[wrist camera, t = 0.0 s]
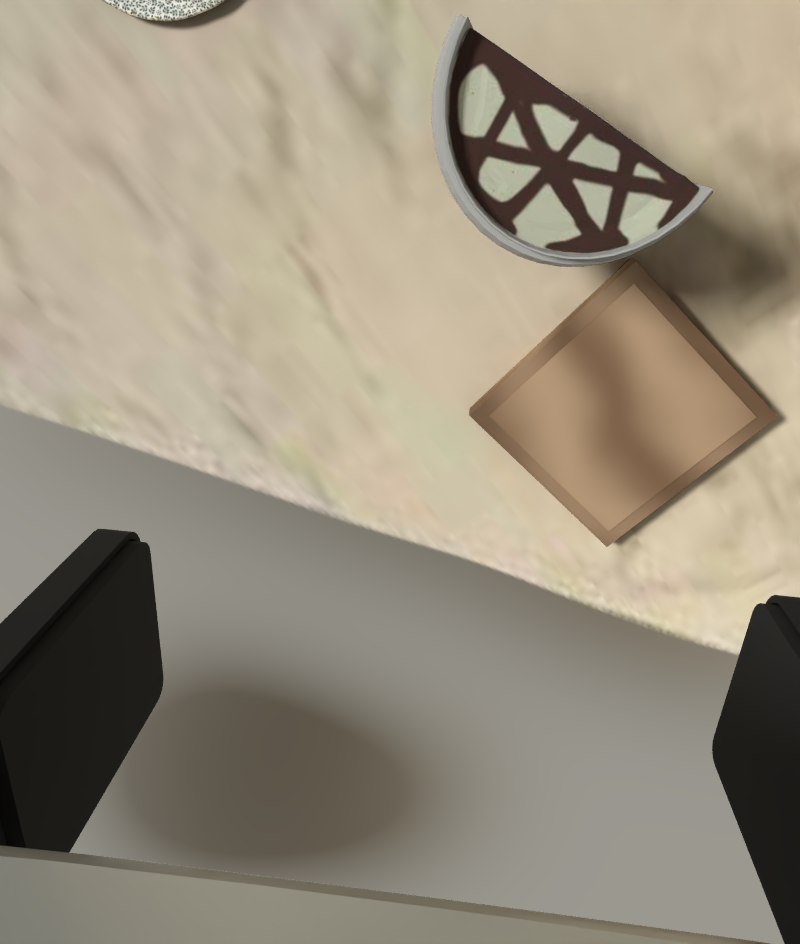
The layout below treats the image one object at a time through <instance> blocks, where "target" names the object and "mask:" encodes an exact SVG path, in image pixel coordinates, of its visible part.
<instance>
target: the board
mask: <svg viewBox="0 0 800 944" xmlns="http://www.w3.org/2000/svg"><path fill="white" fill-rule="evenodd" d="M469 415H470V416H471V417H472V418H473V419H474V420H475V421H476V422H477V423H478V424H479V425H480V426H481V427H482V428H483V429H484V430H485V431H486V432H487V433H488V434H489V435H490V436H492V437H493V438H494V439H495V440H496V441H497V442H498V443H499V444H500V445H501V446H502V447H503V448H504V449H505V450H506V451H507V452H508V453H509V454H510V455H511V456H512V457H513V458H515V459H516V460H517V461H518V462H519V463H520V464H521V465H522V466H523V467H524V468H525V469H526V470H527V471H528V472H529V473H530V474H531V475H532V476H533V477H534V478H535V479H536V480H537V481H539V482H540V483H541V484H542V485H543V486H544V487H545V488H546V489H547V490H548V491H549V492H550V493H551V494H552V495H553V496H554V497H555V498H556V499H557V500H558V501H559V502H560V503H562V504H563V505H564V506H565V507H566V508H567V509H568V510H569V511H570V512H571V513H572V514H573V515H574V516H575V517H576V518H577V519H578V520H579V521H580V522H581V523H582V524H583V525H584V526H586V527H587V528H588V529H589V530H590V531H591V532H592V533H593V534H594V535H595V536H596V537H597V538H598V539H599V540H600V541H601V542H602V543H603V544H604V545H605V546H606V547H608V546H609V545H610V544H612V543H613V542H614V541H616V540H617V539H618V538H619V537H621V536H622V535H623V534H625V533H626V532H627V531H629V530H630V529H631V528H633V527H634V526H635V525H637V524H638V523H639V522H640V521H642V520H643V519H644V518H646V517H647V516H648V515H650V514H651V513H652V512H654V511H655V510H656V509H658V508H659V507H660V506H661V505H663V504H664V503H665V502H667V501H668V500H669V499H671V498H672V497H673V496H675V495H676V494H677V493H679V492H680V491H681V490H682V489H684V488H685V487H686V486H688V485H689V484H690V483H692V482H693V481H694V480H696V479H697V478H698V477H700V476H701V475H702V474H703V473H705V472H706V471H707V470H709V469H710V468H711V467H713V466H714V465H715V464H717V463H718V462H719V461H721V460H722V459H723V458H724V457H726V456H727V455H728V454H730V453H731V452H732V451H734V450H735V449H736V448H738V447H739V446H740V445H742V444H743V443H744V442H745V441H747V440H748V439H749V438H751V437H752V436H753V435H755V434H756V433H757V432H759V431H760V430H761V429H763V428H764V427H765V426H766V425H768V424H769V423H770V422H772V421H773V420H774V419H776V418H777V416H776V414H775V413H774V412H773V411H772V410H771V409H770V408H769V407H768V406H767V405H766V403H765V402H764V401H763V400H762V399H761V398H760V397H759V396H758V395H757V393H756V392H755V391H754V390H753V389H752V388H751V387H750V386H749V385H748V384H747V382H746V381H745V380H744V379H743V378H742V377H741V376H740V375H739V374H738V373H737V371H736V370H735V369H734V368H733V367H732V366H731V365H730V364H729V363H728V362H727V360H726V359H725V358H724V357H723V356H722V355H721V354H720V353H719V352H718V351H717V349H716V348H715V347H714V346H713V345H712V344H711V343H710V342H709V341H708V339H707V338H706V337H705V336H704V335H703V334H702V333H701V332H700V331H699V330H698V328H697V327H696V326H695V325H694V324H693V323H692V322H691V321H690V320H689V319H688V317H687V316H686V315H685V314H684V313H683V312H682V311H681V310H680V309H679V308H678V306H677V305H676V304H675V303H674V302H673V301H672V300H671V299H670V298H669V297H668V295H667V294H666V293H665V292H664V291H663V290H662V289H661V288H660V287H659V285H658V284H657V283H656V282H655V281H654V280H653V279H652V278H651V277H650V276H649V274H648V273H647V272H646V271H645V270H644V269H643V268H642V267H641V266H640V265H639V263H638V262H637V261H636V260H634V259H633V258H631V259H630V260H628V261H627V262H626V263H625V264H624V265H623V266H622V267H621V268H620V269H619V270H618V271H617V272H616V273H615V274H613V275H612V276H611V277H610V278H609V279H608V280H607V281H606V282H605V283H604V284H603V285H602V286H601V287H599V288H598V289H597V290H596V291H595V292H594V293H593V294H592V295H591V296H590V297H589V298H588V299H587V300H586V301H584V302H583V303H582V304H581V305H580V306H579V307H578V308H577V309H576V310H575V311H574V312H573V313H572V314H571V315H569V316H568V317H567V318H566V319H565V320H564V321H563V322H562V323H561V324H560V325H559V326H558V327H557V328H555V329H554V330H553V331H552V332H551V333H550V334H549V335H548V336H547V337H546V338H545V339H544V340H543V341H542V342H540V343H539V344H538V345H537V346H536V347H535V348H534V349H533V350H532V351H531V352H530V353H529V354H528V355H527V356H525V357H524V358H523V359H522V360H521V361H520V362H519V363H518V364H517V365H516V366H515V367H514V368H513V369H512V370H510V371H509V372H508V373H507V374H506V375H505V376H504V377H503V378H502V379H501V380H500V381H499V382H498V383H496V384H495V385H494V386H493V387H492V388H491V389H490V390H489V391H488V392H487V393H486V394H485V395H484V396H483V397H481V398H480V399H479V400H478V401H477V402H476V403H475V404H474V405H473V406H472V407H471V408H470V411H469Z"/></svg>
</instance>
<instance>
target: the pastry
mask: <svg viewBox="0 0 800 944" xmlns="http://www.w3.org/2000/svg"><path fill="white" fill-rule="evenodd" d="M102 1H104V2H106V3H108V4H109V5H111V6H113V7H115V8H117V9H119V10H121V11H123V12H125V13H127V14H129V15H131V16H135V17H138V18H142V19H146V20H153V21H177V20H182V19H187V18H190V17H193V16H195V15H198V14H201V13H203V12H206V11H207V10H210V9H212V8H214V7H216V6H218V5H219V4H220V3H223V1H224V0H102Z"/></svg>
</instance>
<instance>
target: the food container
mask: <svg viewBox="0 0 800 944" xmlns="http://www.w3.org/2000/svg"><path fill="white" fill-rule="evenodd" d="M432 130H433V138H434V145H435V151H436V154H437V158H438V161H439V165H440V168H441V172H442V174H443V177H444V179H445V181H446V183H447V185H448V188H449V190H450V192H451V194H452V196H453V197H454V199H455V200H456V202H457V204H458V205H459V207H460V208H461V210H462V211H463V213H464V214H465V215H466V216H467V218H468V219H469V220H470V221H471V222H472V223H473V224H474V225H475V226H476V227H477V228H478V229H479V231H480V232H482V233H483V234H484V235H486V236H487V237H488V238H489V239H491V240H492V241H493V242H495V243H496V244H497V245H498V246H500V247H502V248H504V249H506V250H508V251H510V252H511V253H513V254H515V255H517V256H520V257H523V258H526V259H528V260H531V261H534V262H537V263H542V264H548V265H554V266H560V267H584V266H590V265H597V264H603V263H608V262H611V261H614V260H617V259H621V258H624V257H627V256H630V255H632V254H634V253H636V252H638V251H640V250H642V249H644V248H647V247H649V246H651V245H653V244H655V243H657V242H658V241H660V240H661V239H663V238H664V237H666V236H667V235H669V234H670V233H672V232H673V231H675V230H676V229H677V228H679V227H680V226H681V225H682V224H683V223H684V222H685V221H686V220H688V219H689V218H690V217H691V216H692V215H693V214H694V213H696V212H697V211H698V209H699V208H700V207H701V206H702V205H703V204H704V202H705V201H706V200H707V199H708V198H709V197H710V196H711V194H712V193H713V191H712V190H713V189H712V188H710V187H706V186H702V185H698V184H695V183H692V182H691V181H690V180H688V179H687V178H686V177H685V176H683V175H681V174H679V173H677V172H676V171H674V170H673V169H671V168H670V167H668V166H667V165H665V164H664V163H663V162H661V161H660V160H658V159H657V158H656V157H654V156H653V155H651V154H650V153H649V152H647V151H646V150H644V149H643V148H642V147H640V146H639V145H637V144H636V143H634V142H633V141H632V140H630V139H629V138H627V137H626V136H624V135H623V134H622V133H620V132H619V131H618V130H616V129H615V128H613V127H612V126H611V125H609V124H608V123H607V122H605V121H604V120H602V119H601V118H600V117H598V116H597V115H596V114H594V113H593V112H591V111H590V110H589V109H587V108H586V107H584V106H583V105H581V104H580V103H578V102H577V101H575V100H574V99H572V98H571V97H570V96H568V95H567V94H565V93H564V92H562V91H561V90H559V89H558V88H556V87H555V86H554V85H552V84H551V83H549V82H548V81H547V80H545V79H544V78H542V77H541V76H539V75H538V74H537V73H535V72H534V71H532V70H531V69H530V68H528V67H527V66H525V65H524V64H523V63H521V62H520V61H518V60H517V59H515V58H514V57H513V56H511V55H510V54H508V53H507V52H505V51H504V50H503V49H501V48H500V47H498V46H497V45H495V44H494V43H492V42H491V41H490V40H488V39H487V38H485V37H484V36H482V35H481V34H479V33H478V32H476V31H475V30H473V27H472V25H471V23H470V20H469V18H468V16H467V15H466V16H465V17H464V16H463V15H461V14H459V15H456V16H455V17H454V19H453V22H452V24H451V26H450V28H449V31H448V33H447V35H446V38H445V40H444V43H443V46H442V49H441V53H440V56H439V60H438V63H437V67H436V71H435V78H434V85H433V91H432Z"/></svg>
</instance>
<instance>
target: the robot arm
mask: <svg viewBox="0 0 800 944" xmlns="http://www.w3.org/2000/svg"><path fill="white" fill-rule="evenodd" d="M152 573H153V572H152V563H151V553H150V548H149V546H148V544H147V543H145V542H140V539H139V537H138V535H137V534H136V533H135V532H128V531H118V530H108V529H97V530H96V531H94V532H93V533H92V534H91V535H90V536H89V537H88V538H87V539H86V540H85V541H84V542H83V543H82V544H81V545H80V546H79V547H78V548H77V549H76V550H75V551H74V552H73V553H72V554H71V555H70V556H69V557H68V558H67V559H66V560H65V561H64V562H63V563H62V564H61V565H59V566H58V568H56V570H54V572H52V573H51V574H50V575H49V576H48V577H47V578H46V579H45V580H44V581H43V582H42V583H41V584H40V585H39V586H38V587H37V588H36V589H35V590H34V591H33V592H32V593H31V594H30V595H29V596H28V597H27V598H26V599H25V600H24V601H23V602H22V603H21V604H20V605H19V606H18V607H17V608H16V609H15V610H14V611H13V612H12V613H11V614H10V615H9V616H8V617H7V618H6V619H5V620H4V621H3V622H2V623H1V624H0V944H769V943H763V942H756V941H750V940H743V939H735V938H728V937H721V936H713V935H706V934H698V933H691V932H684V931H676V930H669V929H662V928H654V927H647V926H640V925H632V924H625V923H618V922H610V921H603V920H596V919H588V918H581V917H573V916H566V915H558V914H552V913H544V912H536V911H529V910H522V909H513V908H506V907H499V906H491V905H484V904H476V903H468V902H460V901H453V900H445V899H437V898H430V897H423V896H415V895H407V894H399V893H391V892H384V891H376V890H368V889H361V888H352V887H345V886H337V885H329V884H322V883H314V882H307V881H299V880H291V879H283V878H274V877H266V876H258V875H250V874H242V873H234V872H225V871H218V870H210V869H201V868H194V867H186V866H178V865H170V864H162V863H153V862H146V861H137V860H129V859H121V858H113V857H104V856H94V855H85V854H76V853H69V852H70V850H71V848H72V847H73V845H74V844H75V842H76V840H77V838H78V837H79V835H80V833H81V832H82V830H83V828H84V826H85V825H86V823H87V821H88V820H89V818H90V816H91V814H92V813H93V811H94V809H95V808H96V806H97V804H98V803H99V801H100V799H101V797H102V796H103V794H104V792H105V790H106V789H107V787H108V785H109V784H110V782H111V780H112V778H113V777H114V775H115V773H116V772H117V770H118V768H119V767H120V765H121V763H122V761H123V760H124V758H125V756H126V755H127V753H128V751H129V749H130V748H131V746H132V744H133V743H134V741H135V739H136V737H137V735H138V734H139V732H140V731H141V729H142V727H143V726H144V724H145V722H146V720H147V719H148V717H149V715H150V714H151V712H152V710H153V708H154V707H155V705H156V703H157V701H158V699H159V697H160V694H161V691H162V687H163V669H162V659H161V649H160V640H159V630H158V621H157V611H156V602H155V592H154V583H153V574H152ZM712 747H713V748H712V751H713V759H714V763H715V767H716V769H717V772H718V774H719V777H720V779H721V782H722V784H723V787H724V790H725V792H726V795H727V797H728V800H729V802H730V805H731V807H732V810H733V813H734V815H735V818H736V820H737V823H738V825H739V828H740V831H741V833H742V836H743V838H744V841H745V843H746V846H747V848H748V851H749V853H750V856H751V859H752V861H753V864H754V866H755V869H756V871H757V874H758V877H759V879H760V882H761V884H762V887H763V889H764V892H765V894H766V897H767V900H768V902H769V905H770V907H771V910H772V912H773V915H774V917H775V920H776V922H777V925H778V928H779V930H780V933H781V935H782V938H783V941H784V943H785V944H800V598H799V597H789V596H778V595H774V596H771V597H770V598H769V599H768V600H767V602H766V604H762V603H760V604H757V605H756V607H755V608H754V610H753V613H752V616H751V619H750V622H749V626H748V629H747V632H746V635H745V638H744V642H743V645H742V648H741V651H740V654H739V658H738V661H737V664H736V667H735V671H734V674H733V677H732V680H731V684H730V687H729V690H728V693H727V696H726V699H725V703H724V706H723V709H722V712H721V716H720V719H719V722H718V725H717V728H716V732H715V735H714V739H713V746H712Z"/></svg>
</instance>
